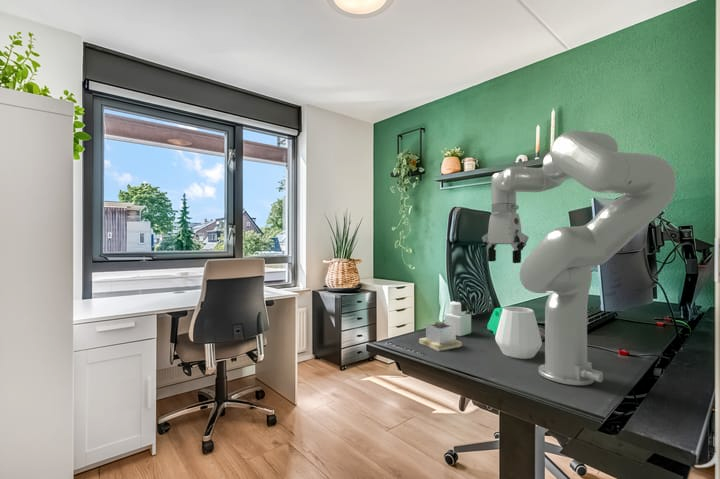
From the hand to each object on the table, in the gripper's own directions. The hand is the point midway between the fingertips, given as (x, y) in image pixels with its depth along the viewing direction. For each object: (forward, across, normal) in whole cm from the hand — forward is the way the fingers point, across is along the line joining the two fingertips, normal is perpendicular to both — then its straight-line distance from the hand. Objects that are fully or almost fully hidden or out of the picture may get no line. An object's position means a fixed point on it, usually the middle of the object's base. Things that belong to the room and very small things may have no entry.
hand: (503, 262), depth 116 cm
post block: (+28, +13, +16) cm, 35 cm away
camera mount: (+29, +11, -14) cm, 34 cm away
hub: (+27, +13, +16) cm, 34 cm away
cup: (+28, -6, +1) cm, 29 cm away
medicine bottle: (+28, +21, 0) cm, 35 cm away
